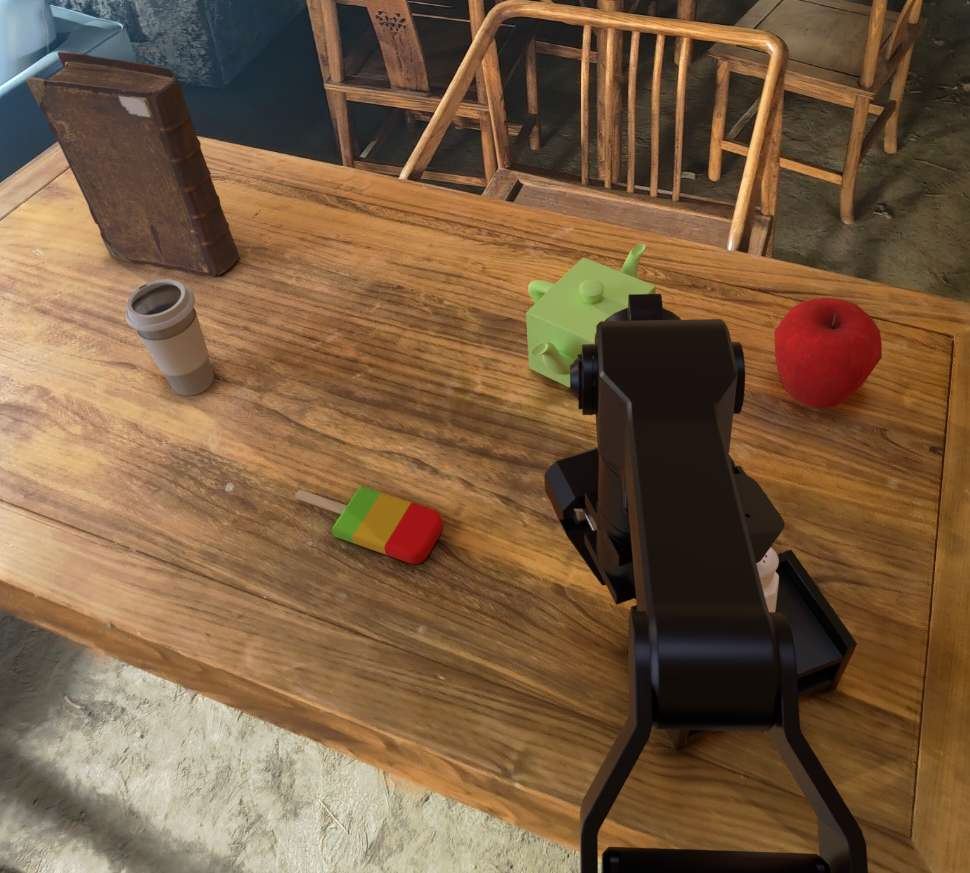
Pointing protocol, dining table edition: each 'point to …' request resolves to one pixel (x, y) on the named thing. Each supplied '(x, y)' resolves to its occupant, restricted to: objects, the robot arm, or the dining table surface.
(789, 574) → the black open box
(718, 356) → the robot arm
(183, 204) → the book
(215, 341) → the dining table surface
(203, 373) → the cup
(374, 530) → the popsicle
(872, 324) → the apple
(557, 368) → the teapot
